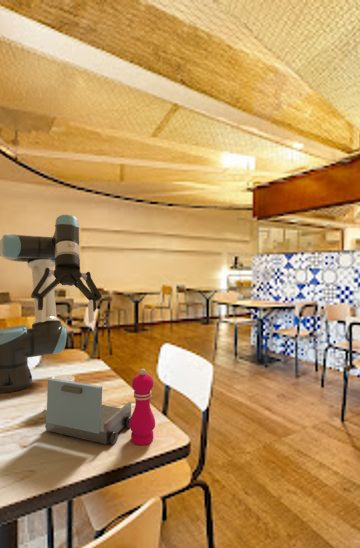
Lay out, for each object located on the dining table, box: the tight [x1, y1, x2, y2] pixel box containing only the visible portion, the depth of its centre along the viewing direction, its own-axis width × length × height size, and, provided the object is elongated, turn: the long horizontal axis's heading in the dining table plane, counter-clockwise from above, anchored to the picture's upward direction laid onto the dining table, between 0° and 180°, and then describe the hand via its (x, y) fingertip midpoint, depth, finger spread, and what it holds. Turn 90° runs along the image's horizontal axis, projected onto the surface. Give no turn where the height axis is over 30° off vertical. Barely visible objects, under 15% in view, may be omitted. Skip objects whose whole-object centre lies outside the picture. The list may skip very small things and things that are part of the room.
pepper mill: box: [129, 368, 156, 446], centre depth 87 cm, size 7×7×20 cm
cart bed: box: [44, 401, 132, 445], centre depth 93 cm, size 22×14×6 cm, turn 71°
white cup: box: [51, 374, 75, 382], centre depth 106 cm, size 8×8×10 cm
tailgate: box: [45, 377, 103, 433], centre depth 85 cm, size 17×2×12 cm, turn 71°
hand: (68, 321), depth 91 cm, fingers open, 13 cm apart
